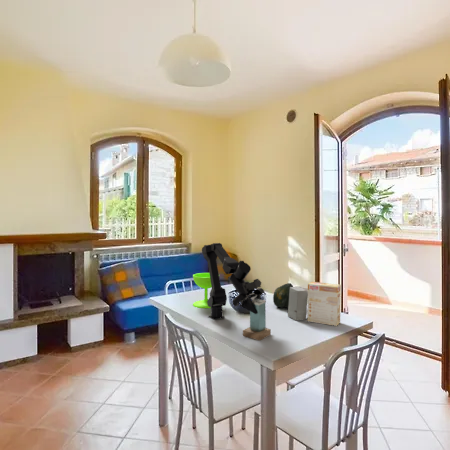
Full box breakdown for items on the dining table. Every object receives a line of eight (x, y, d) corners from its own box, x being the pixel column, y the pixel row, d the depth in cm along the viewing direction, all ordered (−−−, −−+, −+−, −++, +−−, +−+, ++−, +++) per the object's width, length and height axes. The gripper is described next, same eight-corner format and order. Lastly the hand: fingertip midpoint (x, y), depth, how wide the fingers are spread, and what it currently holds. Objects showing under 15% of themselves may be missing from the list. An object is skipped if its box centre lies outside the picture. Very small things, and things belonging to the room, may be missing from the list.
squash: (264, 296, 199) (277, 280, 191) (282, 293, 208) (294, 278, 200) (276, 316, 191) (290, 300, 183) (294, 312, 200) (308, 297, 192)
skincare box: (287, 316, 177) (287, 287, 176) (298, 315, 179) (299, 286, 179) (296, 321, 169) (296, 290, 168) (308, 319, 171) (308, 289, 171)
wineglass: (214, 309, 190) (215, 278, 189) (188, 307, 194) (188, 276, 193) (222, 302, 205) (222, 273, 205) (198, 300, 209) (198, 272, 209)
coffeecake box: (340, 322, 167) (341, 284, 166) (337, 326, 161) (337, 286, 160) (311, 317, 175) (311, 281, 174) (307, 321, 169) (307, 283, 168)
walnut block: (242, 336, 148) (242, 330, 148) (254, 331, 155) (254, 325, 155) (259, 341, 143) (259, 334, 143) (270, 335, 150) (270, 329, 150)
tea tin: (249, 329, 149) (249, 301, 148) (256, 325, 153) (256, 298, 152) (259, 332, 146) (259, 303, 145) (265, 328, 150) (265, 300, 149)
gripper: (238, 276, 143) (259, 306, 137) (261, 271, 158) (281, 297, 151) (223, 292, 149) (243, 321, 142) (247, 285, 163) (266, 311, 157)
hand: (259, 312), depth 148 cm, fingers closed on tea tin, 5 cm apart
